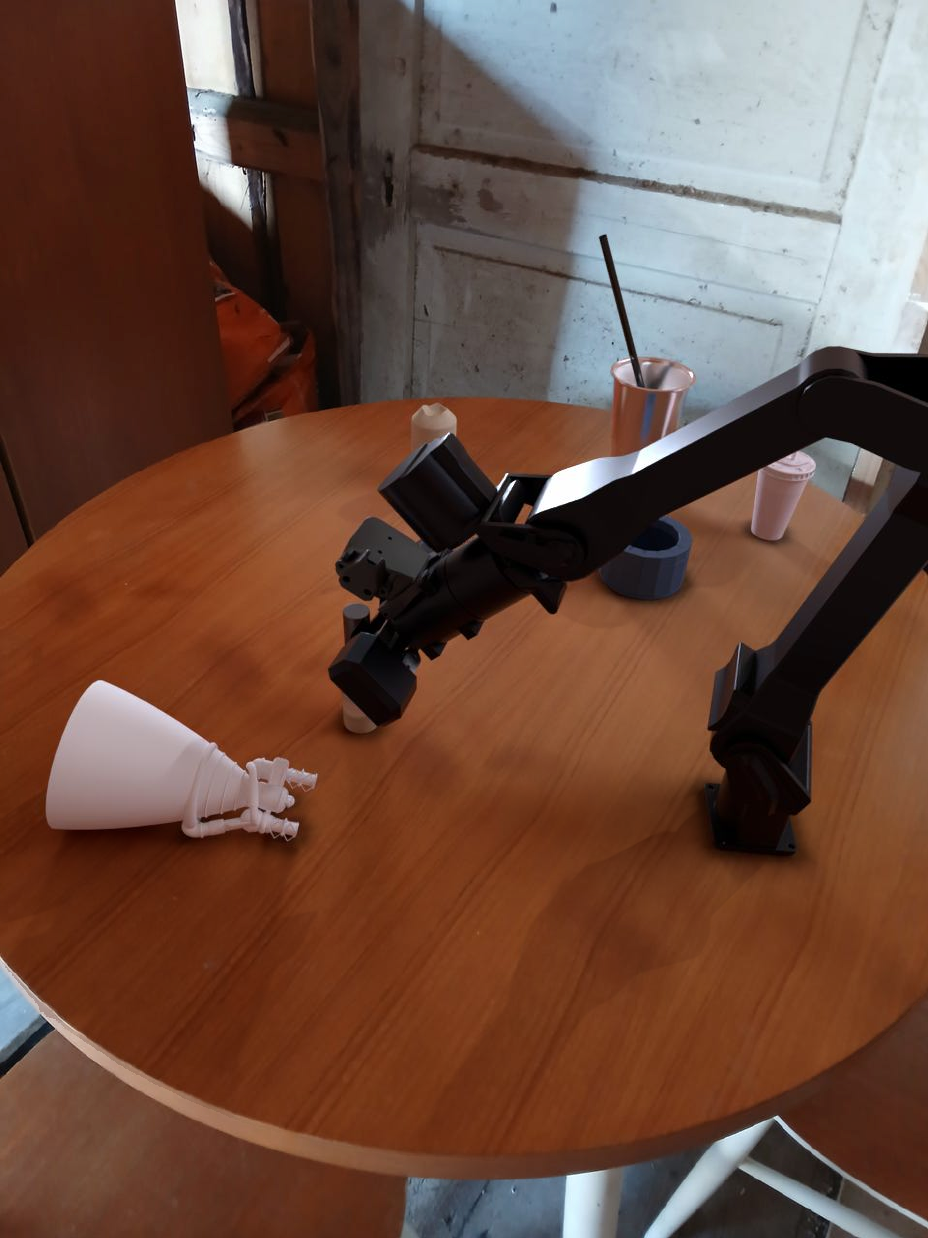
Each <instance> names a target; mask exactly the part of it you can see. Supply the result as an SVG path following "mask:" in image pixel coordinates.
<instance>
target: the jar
mask: <svg viewBox="0 0 928 1238" xmlns="http://www.w3.org/2000/svg"><path fill="white" fill-rule="evenodd" d="M692 545H693V538H692V533H691V532H690V530H689V529H688V528H687V527H686V526H685V525H684V524H683V523H682V522H681V521H678V520H676V519H675V518H673V517H671V516H669V515H665V516H663V517H661V518H660V519H658V520H657V521H656V522H654V523H653V524H651V525H650V526H649V527H647V528H646V529H645V530H644V531H643V532H642V533H641V534H640V535H639V536H638V537H637V538H636V539H635V540H634V541H633V542H632V543H631V544H630V545H629V546H628V547H627V548H626V549H625V550H624V551H623V552H622V553H621V554H619V555H618V556H616V557H615V558H614V559H612V560H611V561H609V562H608V563H607V564H605V565H604V566H602V567H601V568H600V569H598V573H599V577H600V579H601V581H602V582H603V584H604V585H606V586H607V587H608V588H609V589H610V590H612V591H613V592H615V593H617V594H619V595H621V596H625V597H628V598H631V599H635V600H642V601H643V600H644V601H654V600H662V599H666V598H668V597H671V596H673V595H675V594H676V593H677V592H679V590H680V589H681V587H682V586H683V583H684V582H683V581H684V580H685V576H686V572H687V567H688V562H689V557H690V554H691V549H692Z"/></svg>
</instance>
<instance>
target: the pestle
mask: <svg viewBox="0 0 928 1238" xmlns="http://www.w3.org/2000/svg"><path fill="white" fill-rule="evenodd" d="M362 617H364V618H365V619H366V620H367V621H368V622H369V623H370V621H371V609H370V607H369V606H368V605H366V604H365V603H361V602H353V603H349V604H347V605H346V606H344V607H343V609H342V623H343V641H344V646H345V645H346V644H347V643H348V642H349V641H350V635H351V633H352V632H353V630H354V629H355V627H356V626H357V625H358V623H359V622H360V620H361V619H362ZM341 698H342V716H343V725H344V726H345V728H346V729H347V730H348V731H350V732H352V733H355V734H366V733H370V732H372V731H374V730H375V729H376V728H378V726H376V725H375V724H374V723H373V722H372V721H371V720H370V719H369V718H368V717H367V716H366V715H365V714H364V713H363V712H362V711H361V710H360V709H359V708H358V707H357V706H356V705H355V704H354V703H353V702H352V701H351V700H350V699H349V698H348V697H347V696H346V695H345V694H344V693H343V692H342V691H341Z"/></svg>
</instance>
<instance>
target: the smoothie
mask: <svg viewBox="0 0 928 1238" xmlns="http://www.w3.org/2000/svg"><path fill="white" fill-rule="evenodd" d="M816 467H817V465H816V462H815V460H814V459H813V458H812V457H811V456H810V455H808V454H806V453H805V452H803V451H801V450H799V451H797V452H795V453H793V454H791V455H789V456H787V457H785V458H783V459H781V460H779V461H776V462H774V463H772V464H770V465H768V466H766V467H764V468H762V469H760V470H758V471H757V480H756V487H755V496H754V504H753V510H752V511H753V512H752V520H751V527H750V531H751V533H752V534H753V535H754V536H755V537H757V538H759V539H760V540H761V539H762V540H765V541H778V540H780V539H782V537H783V536H784V533H785V532H786V530H787V527H788V525H789V524H790V523H789V522H790V520H791V519H792V516H793V514H794V512H795V510H796V507H797V505H798V503H799V502H800V499H801V497H802V495H803V492H804V491H805V488H806V486H807V484H808V482H809V479H811V478H812V477H813V476H814V475H815V470H816Z"/></svg>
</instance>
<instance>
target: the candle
mask: <svg viewBox="0 0 928 1238" xmlns="http://www.w3.org/2000/svg"><path fill="white" fill-rule="evenodd" d="M457 423H458V421H457V417H456V415H455V414H454V413H453V412H452V411H451V410H449V408H448V407H447V406H443V405H442V403H440V402H435V403H433V404H431V405H428V404H423V405H422V406H420V408H418V410H417V411H416V412H414V414H412V416H411V454H412V453H413V452H414V451H415V450H416V449H418V448H419V447H420V446H421V445H423V444H424V443H425V442H426V443H427V444H429V443H430V442H432V441H433V440H435V439H438V438H439V439H441V438H443V437H444V436H445V435H447V434H448V433H453V434H454V435H455V436H456V437H457Z"/></svg>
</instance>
